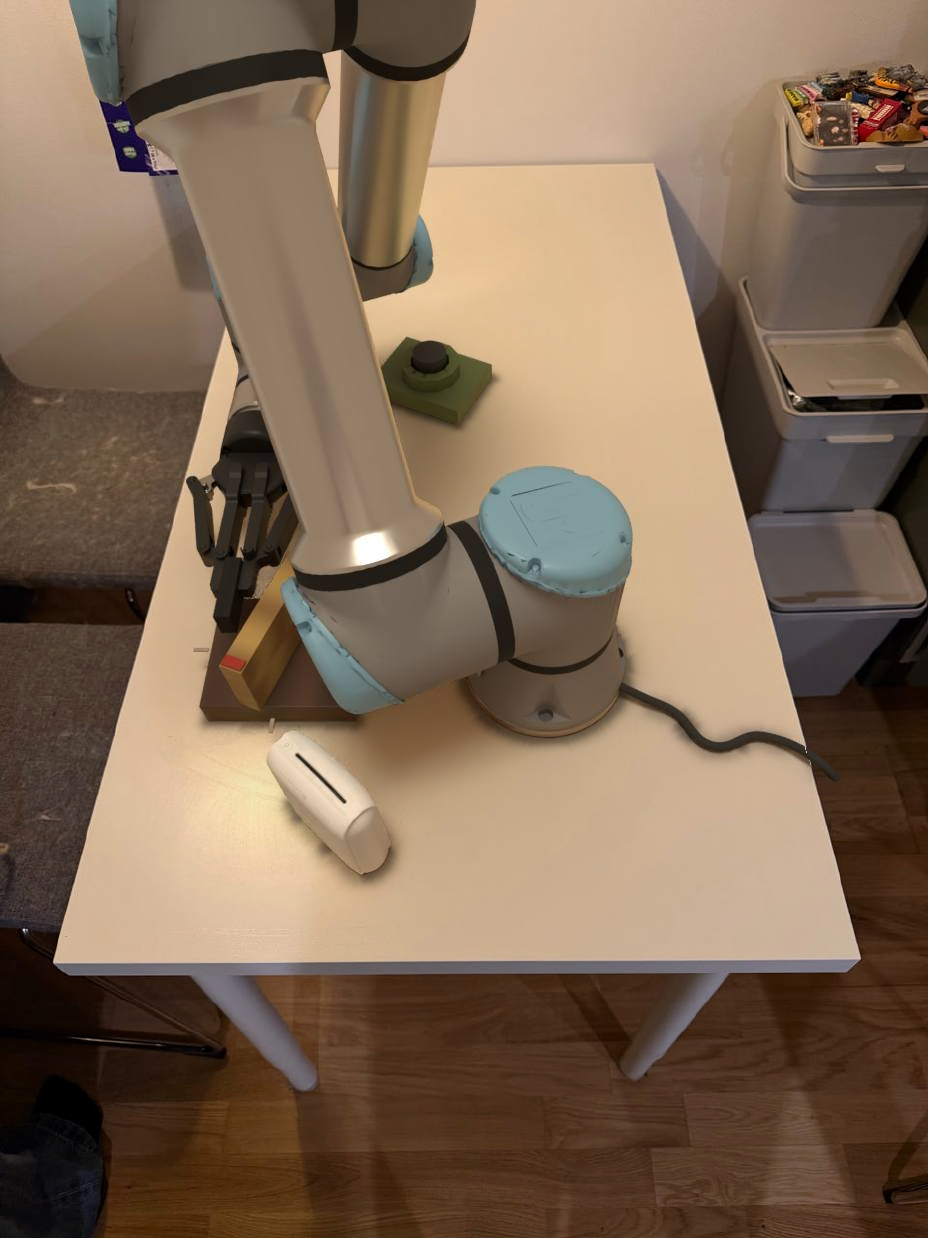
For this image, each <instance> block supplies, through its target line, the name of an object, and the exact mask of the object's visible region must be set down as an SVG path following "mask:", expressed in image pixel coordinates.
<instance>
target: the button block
mask: <svg viewBox="0 0 928 1238" xmlns="http://www.w3.org/2000/svg"><path fill="white" fill-rule="evenodd" d="M436 341H437V340H436ZM420 342H423V341H421V340H419V339H416V338H413V337H410V336H405V337H404V338H403V340H402V341H401V342H400V343H399V345H398V346H396V348H395V349H394V350H393V352H392V353H391V354H390V355H389V356H388V358H387V359H386V360H385V361H384V363H383V364H382V365H380V367H381V371H382V375H383V378H384V382H385V386H386V389H387V393H388V397H389V400H390V403H394V404H397V405H399V406H402V407H405V408H408V409H411V410H414V411H417V412H420V413H422V414H424V415H428V416H431V417H434V418H436V419H439V420H441V421H445V422H447V423H451V424H454V425H456V426H460V424H461V422H462V420H463V419H464V418H465V416H466V415H467V413H468V412H469V411H470V410H471V408H472V407H473V405H474V404H475V403H476V401H477V400H478V398H479V397H480V395H481V394H482V393H483V391H484V390H485V389H486V387H487V386H488V385H489V383H490V382H491V380H492V379H493V364H492V363H489V362H485V361H483V360H480V359H477V358H474V357H472V356H471V357H470V356H467V355H466V354H465V355H464V354H461V353H458V352H457V351H456V350H455V348H453V346H451V345H450V344H447V343H444V342H441V341H437V342H440V343H441V344H443V345H444V346H445V348H446V355H447V365H446V367H445V368H444V369H443V370H442V371H440V372H438V373H436V374H424V373H421V372H418V371H417V370H416V369H415V368H414V365H413V356H412V351H413V348H414V347H415V346H416V345H417V344H418V343H420Z"/></svg>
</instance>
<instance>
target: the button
mask: <svg viewBox="0 0 928 1238" xmlns="http://www.w3.org/2000/svg"><path fill="white" fill-rule="evenodd" d="M440 342H441V341H438V342H437V340H424V341H422V342H420V343H418V344H417V345H416V346H415V347H414V348H413V351H412V356H413V365H414V368H415V369H416V370H417V371H418V372H421V373H424V374H436V373H438V372H440V371H442V370H443V369H444V368H445V367H446V365H447V355H446V348H445V346H444V345H443V344H441V343H442V342H441V343H440Z"/></svg>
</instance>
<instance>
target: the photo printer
mask: <svg viewBox="0 0 928 1238" xmlns="http://www.w3.org/2000/svg"><path fill="white" fill-rule="evenodd" d="M266 765H267V767H268V768H269V770H270V772H271V774H272V776H273V777H274V779H275V781H276V782H277V784H278V785H279V787H280V789H281V791H282V793H283V794H284V796H285V797H286V799H287V800H288V803H289V804H290V806H291V807H292V809H293V810H294V811H295V813H296V814H297V815H298V817H299V818H300V819H301V820H302V821H303V822H304V823H305V824H306V826H307V827H309V829H310V830H311V831H312V833H314V834H315V835H316V837H318V838H319V839H320V840H321V841H322V842H323V844H324V845H326V846H327V848H329V849H330V850H331V851H332V852H333V853H334V854H335V855H336V856H337V857H338V858H339V859H340V860H341V861H343V862H344V863H345V864H346V866H348V868H350V869H352V870H353V871H354V872H356V873H357V874H359V875H361V876H362V875H364V874H365V873H366V874H367V873H371V872H374V871H376V870H378V869H379V868H380V867H381V866H382V865H383V864H384V863H385V861H386V859H387V857H388V854H389V849H390V848H392V843H391V840H390V837H389V835H388V832H387V829H386V825H385V824H384V821H383V818H382V815H381V812H380V810H379V807H378V805H377V802H375V800H374V798H373V797H372V795H371V794H370V792H369V791H368V790H367V789H366V787H364V785H363V784H362V783H361V782H360V781H359V780H358V779H357V778H356V776H355V775H353V773H351V771H350V770H349V769H348V768H347V767H346V766H345V765H343V763H342V762H340V760H338V759H337V758H336V756H334V755H333V754H332V753H331V752H330V751H328V750H327V749H326V748H325V747H324V746H323V745H321V743H319V742H318V741H317V740H316V739H313V738H312V737H311V736H310V735H308V734H305V733H304V732H301V731H299V730H289V731H286V732H285V733H283V734H282V735H281V737H280V738H279V739H278V740H275V742H273V744H271V746H270V748H269V750H268V752H267V754H266Z"/></svg>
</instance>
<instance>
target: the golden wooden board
mask: <svg viewBox="0 0 928 1238" xmlns="http://www.w3.org/2000/svg"><path fill="white" fill-rule="evenodd" d="M289 553H290V551H289V552H288V553H287V554H286V557H285V558H284V559H283V560H282V562H281V564H280V565H279V568H278V569H277V571H276V572H275V574H274V576H273V577H272V579H271V581H270V583H269V584H268V586H267V587H266V588H265V591H264V592H263V594H262V595H261V597H260V598H261V599H260V600H259V602H258V603H257V605H256V607H255V608H254V610H253V612H252V613H251V615H250V616H249V618H248V620H247V621H246V623H245V624H244V626H243V628H242V629H241V631H240V633H239V634H238V636H237V637H236V639H235V641H234V642H233V644H232V646H231V647H230V649H229V650H228V652H227V654H226V655H225V657H224V658H223V660H222V662H221V663H220V665H219V668H220V670H221V671H222V673H223V675H224V677H225V678H226V680H227V682H228V684H229V686H230V687H231V689H232V691H233V693H234V694H235V696H236V698H237V700H238V702H239V703H240V704H241V705H244V706H247V707H250V708H253V709H256V710H258V711H261V710H262V708H263V706H264V704H265V703H266V701H267V699H268V697H269V696H270V694H271V692H272V690H273V689H274V687H275V685H276V683H277V682H278V680H279V678H280V676H281V675H282V673H283V671H284V669H285V668H286V666H287V664H288V662H289V661H290V659H291V657H292V655H293V653H294V652H295V650H296V648H297V646H298V645H299V643H300V641H301V639H302V638H301V636H300V634H299V632H298V630H297V627H296V626H295V624H294V622H293V621H292V619H291V617H290V615H289V612H288V610H287V608H286V606H285V603H284V601H283V598H282V596H281V593H280V587H281V585H282V583H284V582H286V581H287V579H288V578H289V577H292V576H294V577H296V576H295V573H294V571H293V568H292V565H291V562H290V559H289Z"/></svg>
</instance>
